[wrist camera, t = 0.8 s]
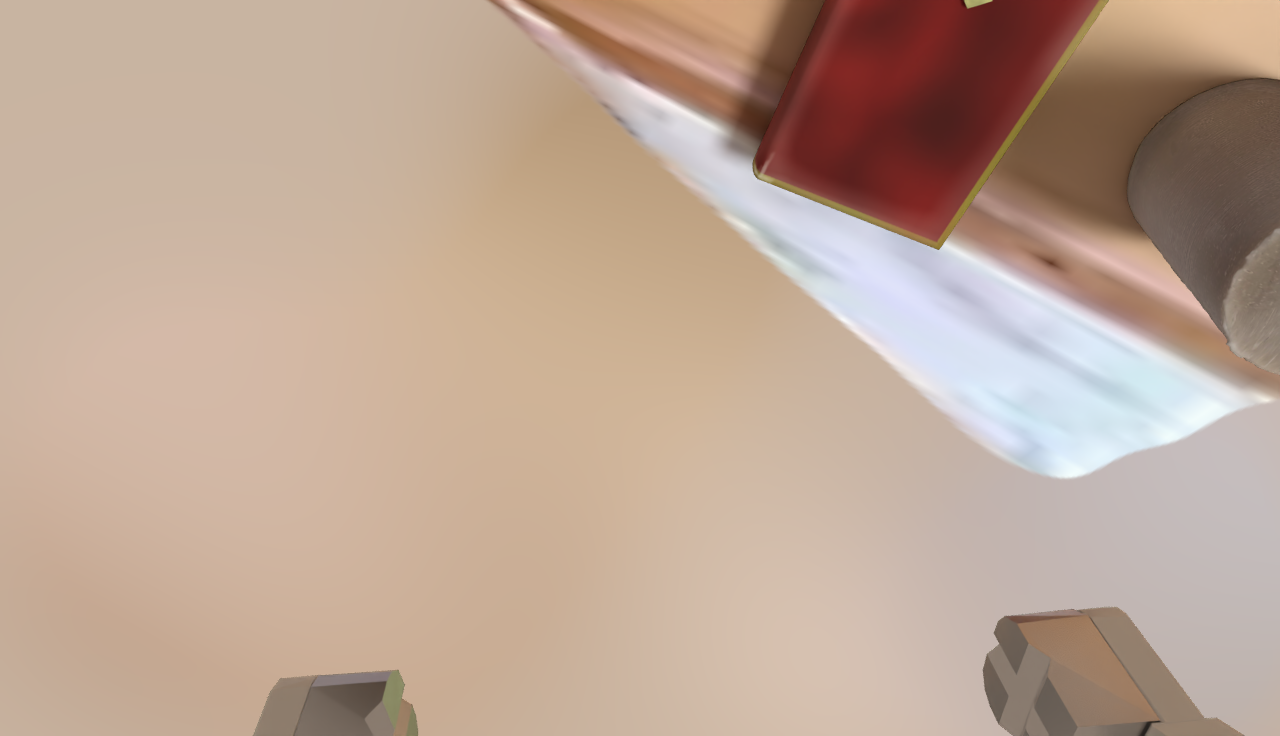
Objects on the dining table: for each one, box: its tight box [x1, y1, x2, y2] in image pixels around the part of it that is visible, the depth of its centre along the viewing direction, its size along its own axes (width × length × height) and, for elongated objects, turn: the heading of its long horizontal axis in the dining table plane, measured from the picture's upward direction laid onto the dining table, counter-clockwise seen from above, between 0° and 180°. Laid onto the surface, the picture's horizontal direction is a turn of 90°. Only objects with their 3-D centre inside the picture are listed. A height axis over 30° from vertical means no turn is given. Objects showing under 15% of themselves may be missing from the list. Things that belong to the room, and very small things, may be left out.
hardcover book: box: [753, 0, 1109, 250], centre depth 39 cm, size 12×21×4 cm, turn 162°
